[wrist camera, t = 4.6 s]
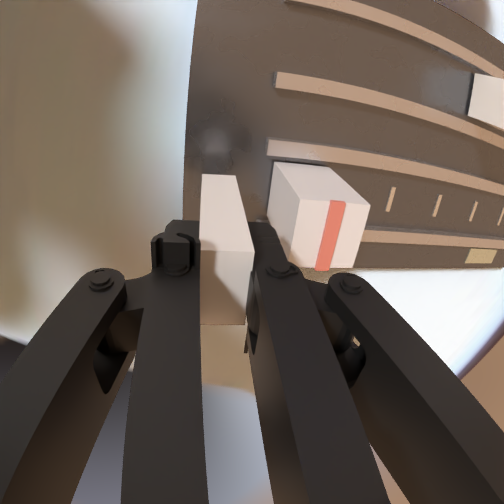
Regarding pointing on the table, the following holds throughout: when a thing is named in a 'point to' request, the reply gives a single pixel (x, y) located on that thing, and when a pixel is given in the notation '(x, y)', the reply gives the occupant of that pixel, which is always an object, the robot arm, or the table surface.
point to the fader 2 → (488, 101)
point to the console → (354, 118)
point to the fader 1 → (316, 216)
